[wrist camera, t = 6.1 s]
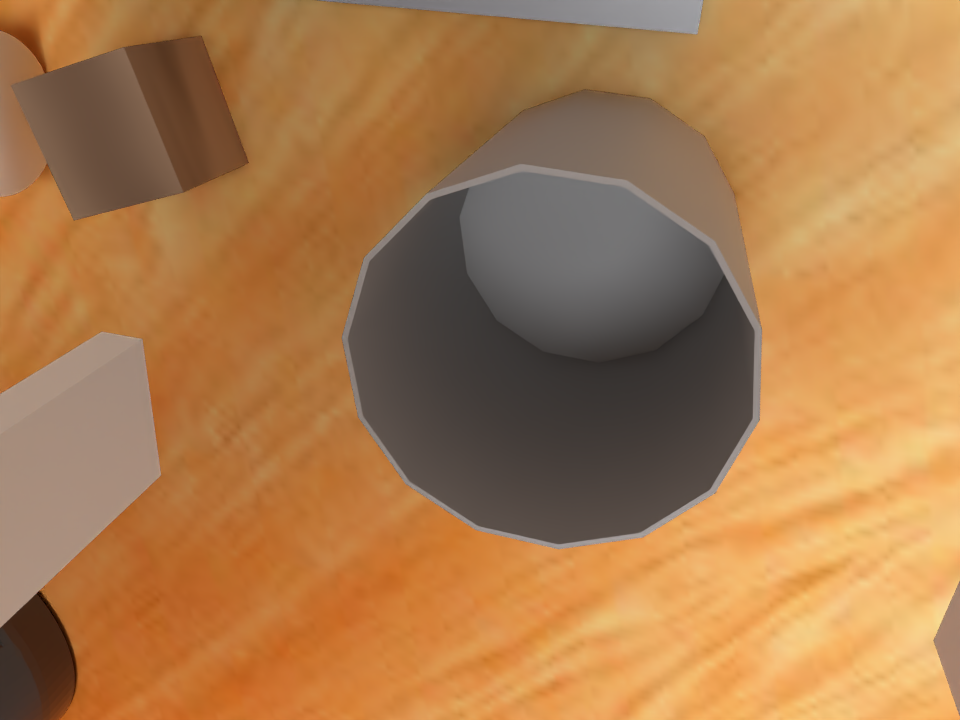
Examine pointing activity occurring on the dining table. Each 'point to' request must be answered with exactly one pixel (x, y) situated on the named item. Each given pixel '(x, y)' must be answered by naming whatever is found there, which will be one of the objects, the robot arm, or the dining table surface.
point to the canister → (16, 120)
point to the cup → (564, 328)
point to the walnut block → (132, 125)
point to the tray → (571, 11)
